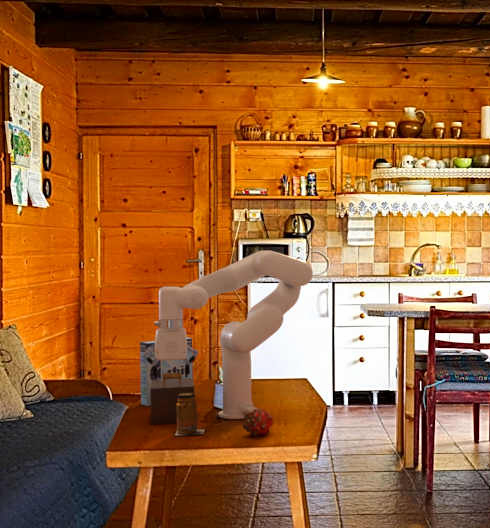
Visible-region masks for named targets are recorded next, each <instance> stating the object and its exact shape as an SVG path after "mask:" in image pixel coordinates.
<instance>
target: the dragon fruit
mask: <svg viewBox="0 0 490 528" xmlns="http://www.w3.org/2000/svg"><path fill="white" fill-rule="evenodd" d="M273 424H274V419H273V418H272V416H271V415H270V413H269V412H268V411H266V410H265V409H263V408H259V409H258V408H257V410H254V411H252V412H250V413H249V414H246V415H245V416H244V421H243V425H242V428H243V430H245V431H246V432H247V433H250V434H251V435H252V436H254V437H259V436H260V435H268V434H269V433H270V429H271V427H272V426H273Z"/></svg>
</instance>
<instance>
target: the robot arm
mask: <svg viewBox="0 0 490 528" xmlns="http://www.w3.org/2000/svg"><path fill="white" fill-rule="evenodd" d="M313 276H314V271H313V269H312V266H311V265H310V264H309V263H308V262H306V261H304V260H301V259H298V258H295V257H292V256H289V255H287V254H286V255H285V254H283V253H280V252H278V251H277V252H276V251H274V250H259V251H256V252H254V253H251V254H250V255H247V256H245V257H244V258H241V259H239V260H237V261H236V262H235V261H234V262H233V263H230V264H229V265H227V266H225V267H223V268H219V269H218V270H216V271H214V272H211V273H209V274H207V275H205V276H202V277H200V278H197V279H196V280H193V281H192V282H188V284H186V285H184V286H183V287H181V286H162V287H160V288H159V290H158V320H157V321H156V320H155V321H154V326H156V327H158V328H156V331H155V340H154V341H155V347H153V348H151V349H149V350H147V351H145V352H144V356H145V358H146V359H147V361H148V362H149V363H150V364H151V365H152V366H153V376H155V379H156V378H157V363H158V361H159V360H184V361H185V363H186V365H185V377H188V375H189V374H190V364H191V363H192V364H193V362H195V360H196V359H197V356H198V354H199V350H197V349H196V348H193V347H192V348H191V347H189V346H187V338H188V337H187V331H186V328H183V327H184V309H192V310H199V309H201V308H203V307H204V306H206V305H207V303H208V302H209V299H210V298H213V297H215V296H217V295H220V294H223V293H224V294H225V293H230V292H234V291H237V290H239V289H242V288H243V287H246V286H247V285H249V284H251V283H253V282H255V281H257V280H259V279H262V278H264V277H270V278H273V279H275V280H278V283H277V286H276V287H275V289H273V290H272V292H270V293H269V294H268V295H267V296H266V297H263V299H261V300H260V301H259V302H257V303H256V304H254V305H253V306H252V307H250V309H249V310H248V312H247V315H246V316H247V317H246V319H245V320H243V321H242V322H241V321H230V322H228V323H226V324H225V325H224V326H223V327H222V329H221V331H220V336H219V343H220V344H219V345H220V349H221V350H220V351H221V362H222V363H221V364H222V365H221V368H222V369H221V370H222V375H221V376H222V410H221V411H219V412H218V414H217V415H218V417H219V418H221V419H225V420H242V419H243V420H245V418H244V416H245V415H246V414H249V413H250V412H252V411H254V410H258V407H255V406H254V402H252V401H253V400H252V358H251V352H252V351H254V350H256V349H257V347H259V346H260V345H262V344H263V343H264V342H265V341H267V340H268V339H269V338H270V337H272V336H273V335H274V334H275V333H277V332H278V331H279V329H281V327H282V326H283V323H284V315H285V314H286V313H288V312H289V311H290V310H291V309H292V308H293V307H294V306H295V305H296V304H297V302H298V301H299V298H300V294H301V289H302V287H304V286H307V285H308V284H309V283H310V282H311V281H312V279H313ZM186 337H187V338H186ZM187 350H188V351H190V352H192V357H191V358H190V359H188V358H187ZM154 351H155V359H154V361H153V360H152V359H151V358H150V356H149V354H150V353H152V352H154Z"/></svg>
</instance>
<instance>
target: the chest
mask: <svg viewBox="0 0 490 528" xmlns="http://www.w3.org/2000/svg"><path fill="white" fill-rule="evenodd" d="M150 392H151V406H150V425H165V424H166V425H167V424H177V408H176V406H177V403H178V401H177V400H178V394H181V393H194V394H195V388H194V389H181V390H161V391H150Z"/></svg>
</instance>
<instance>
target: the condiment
mask: <svg viewBox="0 0 490 528" xmlns="http://www.w3.org/2000/svg"><path fill="white" fill-rule="evenodd" d="M177 401H178V403H177V406H176V408H177V423H176V432H175V434H174V436H181V437H182V436H197V435H204V433H205V431H206V429H203V428H201V429H198V414H197V412H198V409H197V407H198V406H197V405H198V404H197V402H196V394H195V392H194V393H181V394H178V400H177Z"/></svg>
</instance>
